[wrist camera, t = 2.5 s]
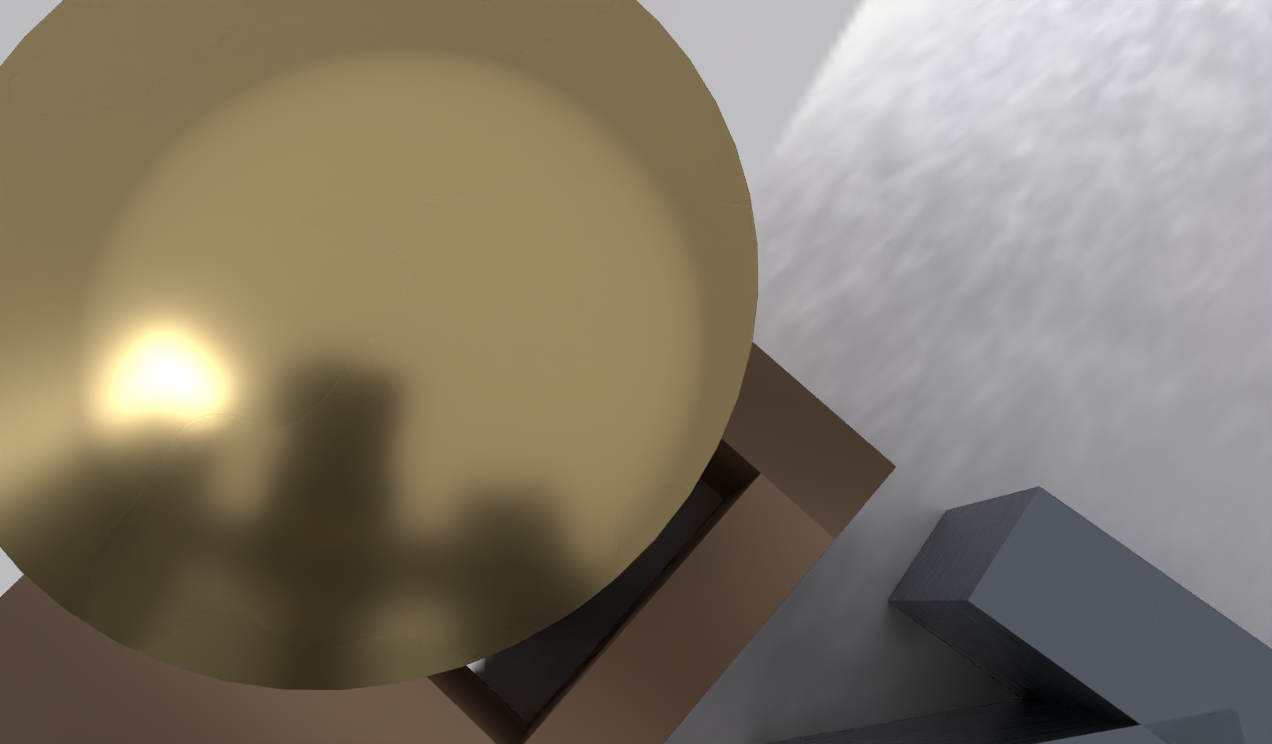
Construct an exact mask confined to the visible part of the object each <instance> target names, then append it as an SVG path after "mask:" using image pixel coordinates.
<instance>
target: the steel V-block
mask: <svg viewBox="0 0 1272 744" xmlns="http://www.w3.org/2000/svg"><path fill="white" fill-rule="evenodd" d="M888 601H889V602H890V603H892V604H893V605H894V606H896V607H897V608H899V609H900V610H901V611H903V612H904V613H905V614H907V615H908V616H910V617H911V618H912V619H914V620H915V621H917V622H918V623H919V624H921V625H922V626H923V627H925V628H926V629H928V630H929V631H930V632H932V633H933V634H934V635H936V636H937V637H939V638H940V639H941V640H943V641H944V642H946V643H947V644H948V645H950V646H951V647H952V648H954V649H955V650H957V651H958V652H959V653H961V654H962V655H963V656H965V657H966V658H968V659H969V660H970V661H972V662H973V663H975V664H976V665H977V666H979V667H980V668H981V669H983V670H984V671H986V672H987V673H988V674H990V675H991V676H992V677H994V678H995V679H997V680H998V681H999V682H1001V683H1002V684H1004V685H1005V686H1006V687H1008V688H1009V689H1010V690H1012V691H1013V692H1015V693H1016V694H1017V695H1019V696H1020V697H1022V698H1023V699H1019V700H1013V701H1007V702H1001V703H996V704H990V705H984V706H979V707H973V708H967V709H962V710H956V711H950V712H945V713H939V714H933V715H928V716H922V717H916V718H911V719H905V720H899V721H893V722H888V723H882V724H876V725H871V726H865V727H859V728H854V729H848V730H842V731H837V732H831V733H825V734H820V735H814V736H808V737H803V738H797V739H791V740H785V741H780V742H774V743H768V744H1272V649H1271V648H1269V647H1268V646H1267V645H1265V644H1264V643H1262V642H1261V641H1259V640H1258V639H1257V638H1255V637H1254V636H1252V635H1251V634H1249V633H1248V632H1247V631H1245V630H1244V629H1242V628H1241V627H1239V626H1238V625H1237V624H1235V623H1234V622H1232V621H1231V620H1230V619H1228V618H1227V617H1225V616H1224V615H1222V614H1221V613H1220V612H1218V611H1217V610H1215V609H1214V608H1212V607H1211V606H1210V605H1208V604H1207V603H1205V602H1204V601H1202V600H1201V599H1200V598H1198V597H1197V596H1195V595H1194V594H1192V593H1191V592H1190V591H1188V590H1187V589H1185V588H1184V587H1182V586H1181V585H1180V584H1178V583H1177V582H1175V581H1174V580H1172V579H1171V578H1170V577H1168V576H1167V575H1165V574H1164V573H1162V572H1161V571H1160V570H1158V569H1157V568H1155V567H1154V566H1152V565H1151V564H1150V563H1148V562H1147V561H1145V560H1144V559H1142V558H1141V557H1140V556H1138V555H1137V554H1135V553H1134V552H1132V551H1131V550H1130V549H1128V548H1127V547H1125V546H1124V545H1122V544H1121V543H1120V542H1118V541H1117V540H1115V539H1114V538H1112V537H1111V536H1110V535H1108V534H1107V533H1105V532H1104V531H1102V530H1101V529H1100V528H1098V527H1097V526H1095V525H1094V524H1092V523H1091V522H1090V521H1088V520H1087V519H1085V518H1084V517H1082V516H1081V515H1080V514H1078V513H1077V512H1075V511H1074V510H1072V509H1071V508H1070V507H1068V506H1067V505H1065V504H1064V503H1063V502H1061V501H1060V500H1058V499H1057V498H1055V497H1054V496H1053V495H1051V494H1050V493H1048V492H1047V491H1045V490H1044V489H1043V488H1041V487H1040V486H1039V487H1035V488H1031V489H1027V490H1023V491H1020V492H1016V493H1012V494H1008V495H1004V496H1000V497H996V498H992V499H988V500H984V501H980V502H977V503H973V504H969V505H965V506H961V507H957V508H953V509H949V510H946V512H945V513H944V515H943V516H942V518H941V519H940V521H939V523H938V524H937V526H936V527H935V529H934V530H933V532H932V533H931V535H930V536H929V538H928V540H927V541H926V543H925V544H924V546H923V547H922V549H921V550H920V552H919V553H918V555H917V556H916V558H915V560H914V561H913V563H912V564H911V566H910V567H909V569H908V570H907V572H906V573H905V575H904V577H903V578H902V580H901V581H900V583H899V584H898V586H897V587H896V589H895V590H894V592H893V593H892V595H891V597H890V598H889V600H888Z"/></svg>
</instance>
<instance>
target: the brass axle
mask: <svg viewBox="0 0 1272 744" xmlns="http://www.w3.org/2000/svg"><path fill="white" fill-rule="evenodd" d="M757 299H758V258H757V238H756V232H755V225H754V218H753V212H752V205H751V199H750V193H749V190H748V186H747V183H746V179H745V176H744V173H743V169H742V166H741V162H740V159H739V155H738V152H737V149H736V146H735V143H734V141H733V139H732V137H731V134H730V132H729V130H728V128H727V126H726V123H725V121H724V119H723V117H722V114H721V112H720V110H719V108H718V105H717V103H716V101H715V99H714V98H713V96H712V95H711V93H710V91H709V90H708V88H707V87H706V85H705V83H704V82H703V80H702V78H701V77H700V75H699V74H698V72H697V70H696V69H695V67H694V65H693V64H692V62H691V61H690V59H689V58H688V57H687V56H686V54H685V53H684V52H683V51H682V50H681V48H680V47H679V46H678V44H677V43H676V42H675V41H674V40H673V38H672V37H671V36H670V35H669V34H668V32H667V31H666V30H665V29H664V27H663V26H662V25H661V24H660V22H659V21H658V20H656V19H655V18H654V17H653V16H652V15H651V14H650V13H649V12H648V11H647V10H646V9H645V8H644V7H643V6H642V5H641V4H639V3H638V1H636V0H63V1H62V2H61V3H60V4H59V5H58V6H57V7H56V8H55V9H53V10H52V12H50V13H49V14H48V15H47V16H46V17H45V18H44V19H43V20H42V21H41V22H40V23H39V24H38V25H37V26H36V27H34V28H33V29H32V30H31V31H30V32H29V33H28V34H27V35H26V36H25V37H24V38H23V39H22V41H21V42H20V43H19V44H18V46H17V47H16V48H15V49H14V50H13V52H12V53H11V54H10V55H9V56H8V58H7V59H6V60H5V61H4V63H3V64H2V65H1V66H0V547H1V548H2V550H3V551H4V552H5V553H6V554H7V555H8V557H9V558H10V559H11V560H12V561H13V562H14V564H15V565H16V566H17V567H18V568H19V569H20V571H21V572H22V573H24V574H25V575H26V576H27V577H28V578H29V579H30V580H32V581H33V582H34V583H35V584H36V585H37V586H38V587H40V588H41V589H42V590H43V591H44V592H45V593H47V594H48V595H49V596H50V597H51V598H52V599H53V600H55V601H56V602H57V603H58V604H59V605H60V606H62V607H63V608H64V609H65V610H67V611H68V612H70V613H71V614H73V615H75V616H76V617H78V618H79V619H81V620H82V621H84V622H85V623H87V624H89V625H90V626H92V627H93V628H95V629H96V630H98V631H100V632H101V633H103V634H104V635H106V636H107V637H109V638H111V639H112V640H114V641H116V642H118V643H120V644H123V645H125V646H127V647H129V648H132V649H134V650H136V651H138V652H140V653H143V654H145V655H147V656H149V657H151V658H154V659H156V660H158V661H160V662H162V663H165V664H167V665H170V666H174V667H177V668H181V669H184V670H188V671H191V672H195V673H198V674H201V675H205V676H208V677H212V678H215V679H219V680H222V681H227V682H234V683H241V684H248V685H255V686H262V687H268V688H275V689H282V690H348V689H356V688H364V687H372V686H380V685H388V684H396V683H403V682H407V681H411V680H415V679H418V678H422V677H426V676H430V675H434V674H437V673H441V672H445V671H449V670H452V669H456V668H460V667H463V666H465V665H468V664H470V663H473V662H475V661H478V660H480V659H482V658H485V657H487V656H490V655H492V654H495V653H497V652H500V651H502V650H504V649H507V648H509V647H512V646H514V645H517V644H518V643H520V642H522V641H524V640H525V639H527V638H529V637H531V636H532V635H534V634H536V633H538V632H539V631H541V630H543V629H545V628H546V627H548V626H550V625H552V624H553V623H555V622H557V621H559V620H560V619H562V618H564V617H566V616H567V615H569V614H570V613H572V612H573V611H575V610H576V609H577V608H579V607H580V606H582V605H583V604H584V603H586V602H587V601H588V600H590V599H591V598H592V597H593V596H595V595H596V594H597V593H598V592H600V591H601V590H602V589H604V588H605V587H606V586H607V585H609V584H610V583H611V582H612V581H614V580H615V579H616V578H617V577H618V576H619V575H620V574H621V573H622V572H623V571H624V570H625V569H626V568H627V567H628V566H629V565H630V564H631V563H632V562H633V561H634V560H635V559H636V558H637V557H638V556H639V555H640V554H641V553H642V552H643V551H644V550H645V549H646V548H647V547H648V546H649V545H650V544H651V543H652V542H653V541H654V540H655V539H656V538H657V537H658V535H659V534H660V533H661V531H662V530H663V529H664V527H665V526H666V525H667V524H668V522H669V521H670V520H671V518H672V517H673V516H674V515H675V513H676V512H677V511H678V509H679V508H680V507H681V506H682V504H683V503H684V502H685V500H686V499H687V498H688V496H689V495H690V494H691V492H692V490H693V488H694V487H695V485H696V483H697V482H698V480H699V478H700V476H701V475H702V473H703V471H704V469H705V468H706V466H707V464H708V463H709V461H710V459H711V457H712V456H713V454H714V452H715V451H716V449H717V447H718V445H719V442H720V440H721V437H722V435H723V433H724V430H725V428H726V425H727V423H728V421H729V418H730V416H731V413H732V411H733V408H734V406H735V404H736V401H737V399H738V396H739V392H740V388H741V385H742V381H743V377H744V373H745V369H746V366H747V362H748V358H749V354H750V350H751V347H752V339H753V331H754V323H755V315H756V307H757Z"/></svg>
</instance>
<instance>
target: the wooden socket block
mask: <svg viewBox="0 0 1272 744" xmlns="http://www.w3.org/2000/svg"><path fill="white" fill-rule="evenodd" d="M895 468H896V466H895V465H894V464H892V463H891V462H890V461H889V460H888V459H887V458H885V457H884V456H883V455H882V454H881V453H880V452H879V451H877V450H876V449H875V448H874V447H873V446H872V445H871V444H869V443H868V442H867V441H866V440H865V439H864V438H862V437H861V436H860V435H859V434H858V433H857V432H856V431H854V430H853V429H852V428H851V427H850V426H849V425H848V424H846V423H845V422H844V421H843V420H842V419H841V418H839V417H838V416H837V415H836V414H835V413H834V412H833V411H831V410H830V409H829V408H828V407H827V406H826V405H825V404H823V403H822V402H821V401H820V400H819V399H818V398H816V397H815V396H814V395H813V394H812V393H811V392H810V391H808V390H807V389H806V388H805V387H804V386H803V385H802V384H800V383H799V382H798V381H797V380H796V379H795V378H793V377H792V376H791V375H790V374H789V373H788V372H787V371H785V370H784V369H783V368H782V367H781V366H780V365H779V364H777V363H776V362H775V361H774V360H773V359H772V358H770V357H769V356H768V355H767V354H766V353H765V352H764V351H762V350H761V349H760V348H759V347H758V346H757V345H756V344H754V343H753V342H752V347H751V350H750V354H749V358H748V362H747V366H746V369H745V373H744V377H743V381H742V385H741V388H740V392H739V396H738V399H737V401H736V404H735V406H734V408H733V411H732V413H731V416H730V418H729V421H728V423H727V425H726V428H725V430H724V433H723V435H722V437H721V440H720V442H719V445H718V447H717V449H716V451H715V452H714V454H713V456H712V457H711V459H710V461H709V463H708V464H707V466H706V468H705V469H704V471H703V473H702V475H701V476H700V478H701V479H702V480H703V481H704V482H705V483H707V484H708V485H709V486H710V487H711V488H712V489H713V490H714V491H716V492H717V493H718V494H719V495H720V496H721V497H722V498H723V499H724V502H723V503H722V504H721V505H720V506H719V507H718V508H717V510H716V511H715V512H714V513H713V514H712V515H711V516H710V518H709V519H708V520H707V521H706V522H705V523H704V524H703V526H702V527H701V528H700V529H699V530H698V531H697V532H696V534H695V535H694V536H693V537H692V538H691V539H690V540H689V541H688V543H687V544H686V545H685V546H684V547H683V548H682V549H681V551H680V552H679V553H678V554H677V555H676V556H675V557H674V559H673V560H672V561H671V562H670V563H669V564H668V565H667V567H666V568H665V569H664V570H663V571H662V572H661V573H660V575H659V576H658V577H657V578H656V579H655V580H654V581H653V583H652V584H651V585H650V586H649V587H648V588H647V589H646V591H645V592H644V593H643V594H642V595H641V596H640V597H639V599H638V600H637V601H636V602H635V603H634V604H633V605H632V607H631V608H630V609H629V610H628V611H627V612H626V613H625V614H624V616H623V617H622V618H621V619H620V620H619V621H618V622H617V624H616V625H615V626H614V627H613V628H612V629H611V630H610V632H609V633H608V634H607V635H606V636H605V637H604V638H603V640H602V641H601V642H600V643H599V644H598V645H597V646H596V648H595V649H594V650H593V651H592V652H591V653H590V654H589V656H588V657H587V658H586V659H585V660H584V661H583V662H582V664H581V665H580V666H579V667H578V668H577V669H576V670H575V672H574V673H573V674H572V675H571V676H570V677H569V678H568V680H567V681H566V682H565V683H564V684H563V685H562V686H561V687H560V689H559V690H558V691H557V692H556V693H555V694H554V695H553V697H552V698H551V699H550V700H549V701H548V702H547V703H546V705H545V706H544V707H543V708H542V709H541V710H540V711H539V713H538V714H537V715H536V716H535V717H534V718H533V719H532V721H531V722H530V723H529V724H527V723H526V722H525V721H524V720H523V719H522V718H521V717H520V716H519V715H518V714H517V713H516V712H515V711H514V710H512V709H511V708H510V707H509V706H508V705H507V704H506V703H505V702H504V701H503V700H502V699H501V698H500V697H499V696H498V695H497V694H496V693H495V692H494V691H493V690H492V689H490V688H489V687H488V686H487V685H486V684H485V683H484V682H483V681H482V680H481V679H480V678H479V677H478V676H477V675H476V674H475V673H474V672H473V671H472V670H471V669H470V668H468V667H467V666H466V665H465V666H463V667H460V668H456V669H452V670H449V671H445V672H441V673H437V674H434V675H430V676H426V677H422V678H418V679H415V680H411V681H407V682H403V683H396V684H388V685H380V686H372V687H364V688H356V689H348V690H282V689H275V688H268V687H262V686H255V685H248V684H241V683H234V682H227V681H222V680H219V679H215V678H212V677H208V676H205V675H201V674H198V673H195V672H191V671H188V670H184V669H181V668H177V667H174V666H170V665H167V664H165V663H162V662H160V661H158V660H156V659H154V658H151V657H149V656H147V655H145V654H143V653H140V652H138V651H136V650H134V649H132V648H129V647H127V646H125V645H123V644H120V643H118V642H116V641H114V640H112V639H111V638H109V637H107V636H106V635H104V634H103V633H101V632H100V631H98V630H96V629H95V628H93V627H92V626H90V625H89V624H87V623H85V622H84V621H82V620H81V619H79V618H78V617H76V616H75V615H73V614H71V613H70V612H68V611H67V610H65V609H64V608H63V607H62V606H60V605H59V604H58V603H57V602H56V601H55V600H53V599H52V598H51V597H50V596H49V595H48V594H47V593H45V592H44V591H43V590H42V589H41V588H40V587H38V586H37V585H36V584H35V583H34V582H33V581H32V580H30V579H29V578H28V577H27V576H26V575H25V574H24V575H23V576H22V577H21V578H20V579H19V580H18V581H17V582H16V583H15V584H14V585H13V586H12V587H11V588H10V589H9V590H7V591H6V592H5V593H4V594H3V595H2V596H1V597H0V744H663V743H664V742H665V741H666V740H667V739H668V737H669V736H670V735H671V734H672V733H673V731H674V730H675V729H676V728H677V727H678V725H679V724H680V723H681V722H682V721H683V720H684V718H685V717H686V716H687V715H688V714H689V712H690V711H691V710H692V709H693V708H694V706H695V705H696V704H697V703H698V702H699V701H700V699H701V698H702V697H703V696H704V695H705V693H706V692H707V691H708V690H709V689H710V687H711V686H712V685H713V684H714V683H715V681H716V680H717V679H718V678H719V677H720V676H721V674H722V673H723V672H724V671H725V670H726V668H727V667H728V666H729V665H730V664H731V662H732V661H733V660H734V659H735V658H736V657H737V655H738V654H739V653H740V652H741V651H742V649H743V648H744V647H745V646H746V645H747V643H748V642H749V641H750V640H751V639H752V638H753V636H754V635H755V634H756V633H757V632H758V630H759V629H760V628H761V627H762V626H763V624H764V623H765V622H766V621H767V620H768V618H769V617H770V616H771V615H772V614H773V613H774V611H775V610H776V609H777V608H778V607H779V605H780V604H781V603H782V602H783V601H784V599H785V598H786V597H787V596H788V595H789V594H790V592H791V591H792V590H793V589H794V588H795V586H796V585H797V584H798V583H799V582H800V580H801V579H802V578H803V577H804V576H805V574H806V573H807V572H808V571H809V570H810V569H811V567H812V566H813V565H814V564H815V563H816V561H817V560H818V559H819V558H820V557H821V555H822V554H823V553H824V552H825V551H826V550H827V548H828V547H829V546H830V545H831V544H832V542H833V541H834V540H835V539H836V538H837V536H838V535H839V534H840V533H841V532H842V531H843V529H844V528H845V527H846V526H847V525H848V523H849V522H850V521H851V520H852V519H853V517H854V516H855V515H856V514H857V513H858V511H859V510H860V509H861V508H862V507H863V506H864V504H865V503H866V502H867V501H868V500H869V498H870V497H871V496H872V495H873V494H874V492H875V491H876V490H877V489H878V488H879V487H880V485H881V484H882V483H883V482H884V481H885V479H886V478H887V477H888V476H889V475H890V473H891V472H892V471H893V470H894V469H895Z"/></svg>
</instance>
